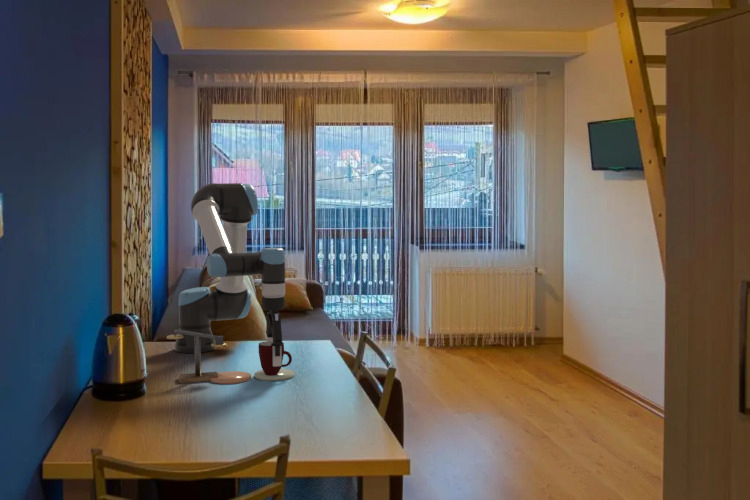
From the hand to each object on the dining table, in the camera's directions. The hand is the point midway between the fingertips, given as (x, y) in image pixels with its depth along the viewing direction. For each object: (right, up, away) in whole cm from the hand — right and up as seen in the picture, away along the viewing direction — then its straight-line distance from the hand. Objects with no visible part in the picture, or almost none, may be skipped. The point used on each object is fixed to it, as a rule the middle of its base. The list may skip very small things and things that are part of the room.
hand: (274, 361), depth 243 cm
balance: (-24, -5, -4) cm, 25 cm away
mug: (+1, -4, -2) cm, 4 cm away
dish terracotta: (-13, -5, -4) cm, 15 cm away
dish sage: (0, -5, 0) cm, 5 cm away
